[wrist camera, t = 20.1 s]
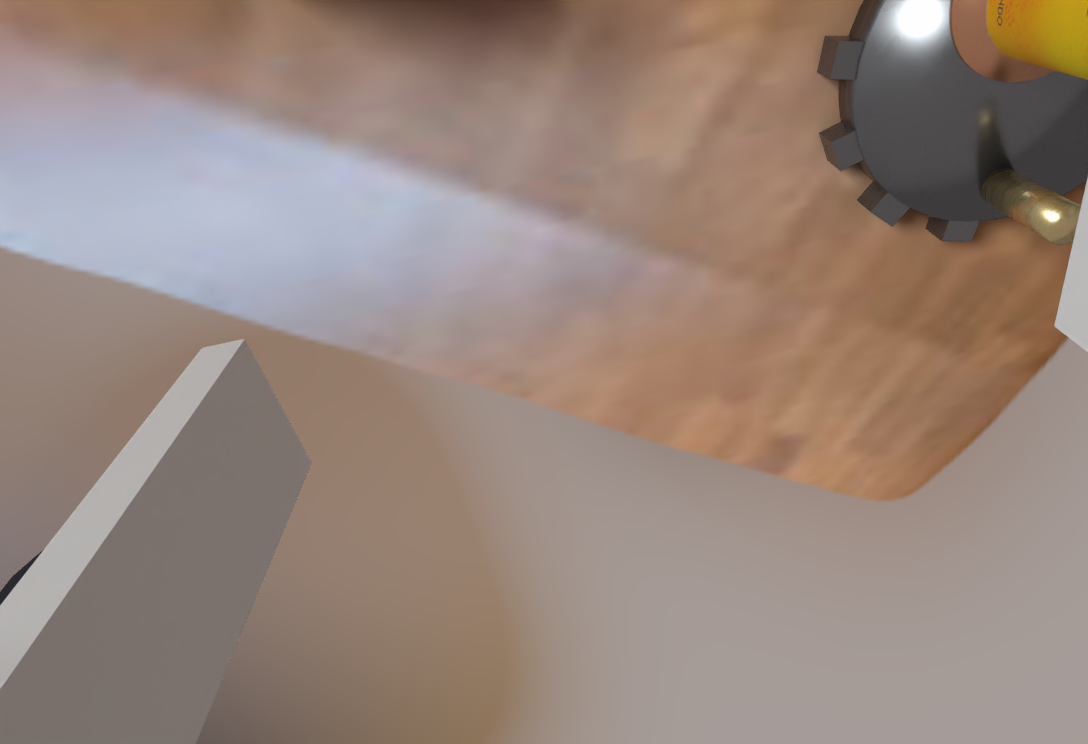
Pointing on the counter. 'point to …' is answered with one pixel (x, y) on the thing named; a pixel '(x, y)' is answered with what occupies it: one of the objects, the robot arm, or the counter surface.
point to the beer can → (1042, 32)
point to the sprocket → (954, 121)
